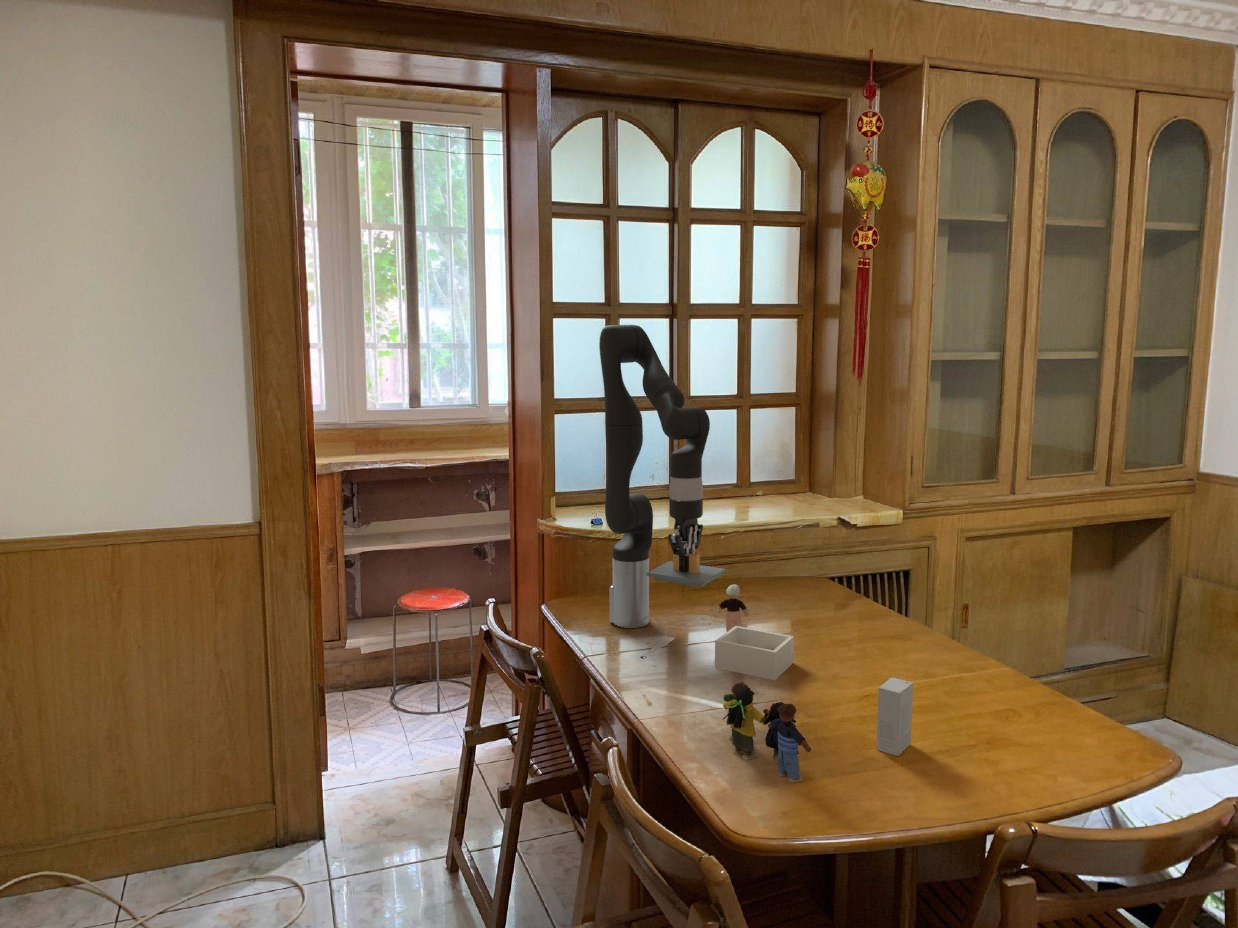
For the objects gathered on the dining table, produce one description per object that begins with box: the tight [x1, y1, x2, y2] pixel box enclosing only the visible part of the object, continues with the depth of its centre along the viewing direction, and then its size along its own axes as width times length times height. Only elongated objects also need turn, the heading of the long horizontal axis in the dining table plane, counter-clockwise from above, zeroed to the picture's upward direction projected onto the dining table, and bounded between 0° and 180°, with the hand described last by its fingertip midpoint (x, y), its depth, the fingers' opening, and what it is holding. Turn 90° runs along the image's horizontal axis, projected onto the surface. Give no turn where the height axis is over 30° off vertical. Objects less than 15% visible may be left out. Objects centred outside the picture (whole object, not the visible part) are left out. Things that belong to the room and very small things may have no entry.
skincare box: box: [876, 677, 914, 757], centre depth 161 cm, size 6×4×12 cm
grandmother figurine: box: [716, 583, 750, 632], centre depth 219 cm, size 8×4×13 cm, turn 84°
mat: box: [640, 636, 676, 659], centre depth 207 cm, size 16×14×1 cm
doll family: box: [721, 682, 812, 784], centre depth 157 cm, size 23×9×13 cm, turn 45°
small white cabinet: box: [714, 626, 795, 681], centre depth 198 cm, size 14×11×7 cm
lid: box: [647, 553, 727, 588], centre depth 204 cm, size 14×11×6 cm
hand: (686, 570), depth 204 cm, fingers closed on lid, 1 cm apart
